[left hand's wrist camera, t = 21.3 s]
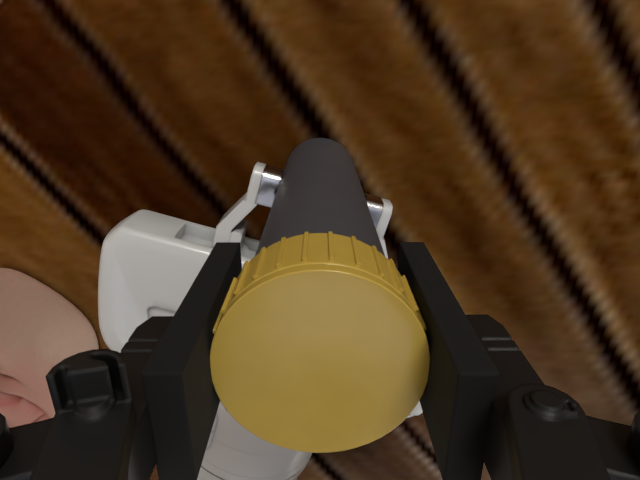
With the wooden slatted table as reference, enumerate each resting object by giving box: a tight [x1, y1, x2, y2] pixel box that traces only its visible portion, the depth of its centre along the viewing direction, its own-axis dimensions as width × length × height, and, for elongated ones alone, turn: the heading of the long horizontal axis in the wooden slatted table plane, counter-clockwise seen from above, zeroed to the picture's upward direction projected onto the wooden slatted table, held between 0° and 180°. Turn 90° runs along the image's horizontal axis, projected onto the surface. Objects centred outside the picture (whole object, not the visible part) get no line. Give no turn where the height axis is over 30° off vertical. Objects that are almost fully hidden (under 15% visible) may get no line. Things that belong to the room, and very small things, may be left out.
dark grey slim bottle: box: [255, 138, 385, 256], centre depth 20 cm, size 4×4×20 cm
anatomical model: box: [0, 268, 99, 428], centre depth 32 cm, size 13×4×12 cm
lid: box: [210, 231, 430, 453], centre depth 12 cm, size 5×5×2 cm
